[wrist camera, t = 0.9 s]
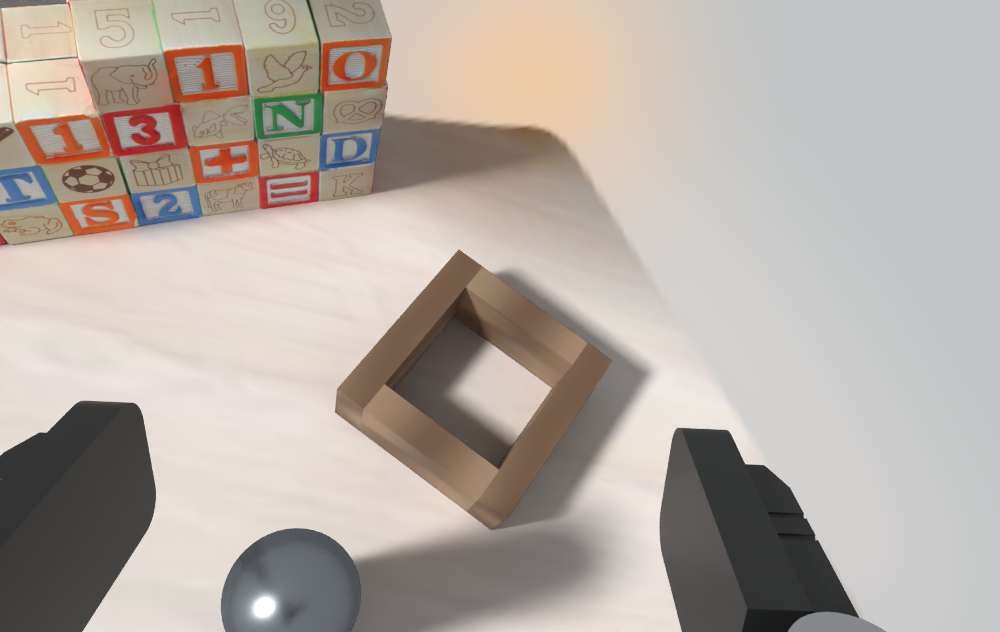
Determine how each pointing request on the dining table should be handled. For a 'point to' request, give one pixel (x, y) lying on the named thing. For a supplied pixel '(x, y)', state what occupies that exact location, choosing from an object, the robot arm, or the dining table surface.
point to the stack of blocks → (184, 109)
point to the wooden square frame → (510, 330)
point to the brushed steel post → (292, 585)
